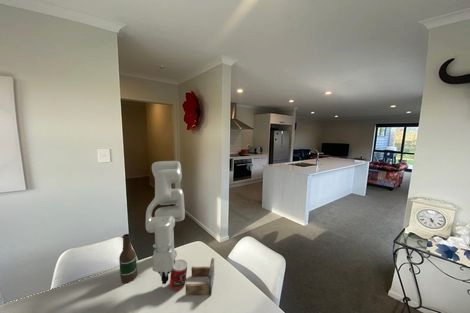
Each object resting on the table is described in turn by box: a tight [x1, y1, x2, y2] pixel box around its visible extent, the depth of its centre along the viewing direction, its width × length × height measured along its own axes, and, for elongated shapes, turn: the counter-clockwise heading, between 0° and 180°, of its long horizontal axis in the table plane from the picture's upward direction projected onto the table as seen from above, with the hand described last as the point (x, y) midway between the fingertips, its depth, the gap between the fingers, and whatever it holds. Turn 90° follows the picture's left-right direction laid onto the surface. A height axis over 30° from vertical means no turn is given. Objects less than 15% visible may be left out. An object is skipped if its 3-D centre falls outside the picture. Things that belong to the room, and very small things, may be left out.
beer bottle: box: [118, 233, 138, 284], centre depth 102 cm, size 8×8×24 cm
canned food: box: [169, 259, 188, 291], centre depth 97 cm, size 8×8×11 cm
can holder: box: [184, 257, 215, 297], centre depth 98 cm, size 12×13×10 cm
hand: (165, 282), depth 97 cm, fingers closed
